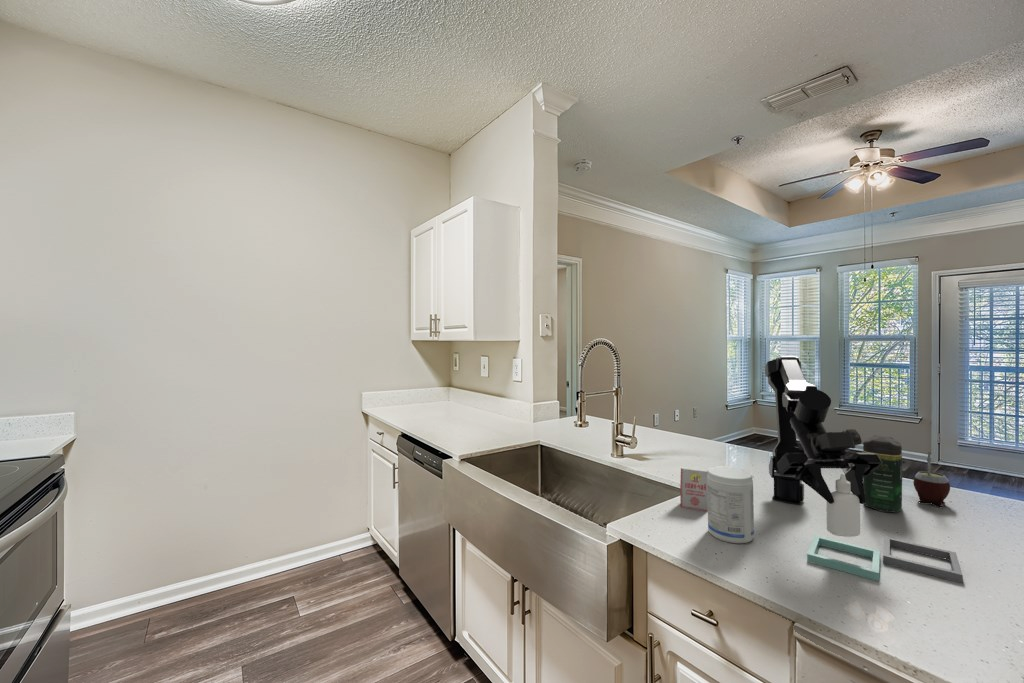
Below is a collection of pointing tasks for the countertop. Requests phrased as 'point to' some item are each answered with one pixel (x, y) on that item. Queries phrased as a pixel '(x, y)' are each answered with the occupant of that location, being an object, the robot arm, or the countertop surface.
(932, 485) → the mate gourd
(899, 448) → the coffee jar
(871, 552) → the lower socket
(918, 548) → the upper socket
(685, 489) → the white red printed box
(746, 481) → the supplement tub
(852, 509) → the eye dropper bottle
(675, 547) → the countertop surface
